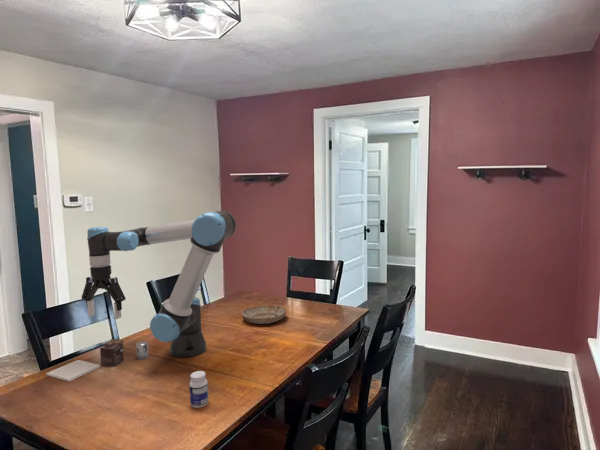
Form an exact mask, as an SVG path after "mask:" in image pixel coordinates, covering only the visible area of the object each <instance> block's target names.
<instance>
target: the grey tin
mask: <svg viewBox="0 0 600 450" xmlns="http://www.w3.org/2000/svg"><path fill="white" fill-rule="evenodd" d="M135 347H136V359H137V360H139V361H140V360H141V361H142V360H146V359H148V358H149V348H148V347H149V346H148V341H147V340H146V341H145V340H143V341H138V342H136V344H135Z"/></svg>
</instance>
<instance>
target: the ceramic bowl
mask: <svg viewBox="0 0 600 450" xmlns="http://www.w3.org/2000/svg"><path fill="white" fill-rule="evenodd" d="M286 314H287V309H286V308H285V307H282V306H279V305H272V304H271V305H269V304H267V305H266V304H265V305H264V304H263V305H256V306H250V307H248V308H246V309H243V310H242V311H241V317H242V318H243V319H244V321H247V322H248V323H252V324H256V325H266V324H267V325H268V324H272V323H276V322H279V321H280V320H281V319H283V318H285V316H286Z"/></svg>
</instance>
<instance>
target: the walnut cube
mask: <svg viewBox="0 0 600 450" xmlns="http://www.w3.org/2000/svg"><path fill="white" fill-rule="evenodd" d="M109 343H122V348H123V352H124V351H125V348H124V347H125V346H124V345H125V344H124V339H120V338H119V339H118V338H117V339H116V338H113V339H110V340H109V341H107V342H106V343H105V344H104V346H105V345H107V344H109Z"/></svg>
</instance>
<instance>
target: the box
mask: <svg viewBox="0 0 600 450" xmlns="http://www.w3.org/2000/svg"><path fill="white" fill-rule="evenodd" d="M99 349H100V350H99V351H100V352H99V353H100V367H101V366H102V367H116V366H118V365H119V364H120V363H122V362H123V361H124V351H123V348H122V343H109V344H107V345H105V344H104V345H103V346H102V347H100V348H99Z"/></svg>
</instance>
